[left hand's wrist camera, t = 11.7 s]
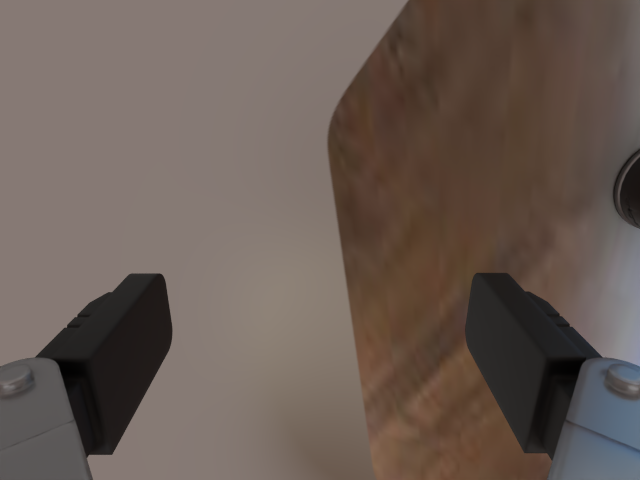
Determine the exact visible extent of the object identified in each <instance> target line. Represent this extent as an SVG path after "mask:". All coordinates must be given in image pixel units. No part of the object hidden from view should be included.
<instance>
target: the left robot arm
mask: <svg viewBox="0 0 640 480" xmlns="http://www.w3.org/2000/svg"><path fill="white" fill-rule="evenodd" d="M614 199H615V205H616V208H617V211H618V213H619V214H620V216H621V217H622V218H623V219H624V220H625V221H626V222H628V223H629V224H631V225H633V226H635V227H637V228H639V229H640V150H639V151H638V152H637V153H636V154H635V155H634V156H633V157H632V158H631V159H630V160H629V161H628V162H627V163H626V165H625V166H624V168H623V169H622V171H621V173H620V175H619V177H618V179H617V182H616V186H615V192H614ZM465 332H466V341H467V346H468V349H469V351H470V353H471V355H472V356H473V358H474V360H475V362H476V364H477V366H478V368H479V369H480V371H481V373H482V375H483V377H484V379H485V381H486V382H487V384H488V386H489V388H490V390H491V392H492V394H493V395H494V397H495V399H496V401H497V403H498V405H499V407H500V408H501V410H502V412H503V414H504V416H505V418H506V420H507V421H508V423H509V425H510V427H511V429H512V431H513V433H514V434H515V436H516V438H517V440H518V442H519V444H520V446H521V447H522V449H523V451H524V453H548V455H549V457H550V458H551V460H552V465H551V468H550V471H549V475H548V478H547V480H640V366H637V365H635V364H632V363H629V362H626V361H622V360H618V359H613V358H603V357H602V356H601V355H600V354H599V353H598V352H597V351H596V350H595V349H594V348H593V347H592V346H591V345H590V344H589V343H588V342H587V341H586V340H585V339H584V338H583V337H582V336H581V335H580V334H579V333H578V332H577V331H576V330H575V329H574V328H573V327H570V324H569V323H568V322H567V321H566V320H565V319H564V318H563V317H562V316H559V313H558V312H557V311H556V310H555V309H554V308H553V307H552V306H551V305H550V304H549V303H548V302H547V301H545V300H543V299H541V298H540V297H538V296H536V295H534V294H532V293H531V292H525V291H524V290H523V289H522V288H521V287H520V286H519V285H518V284H517V283H516V281H515V280H514V279H513V278H512V277H511V276H510V275H509V274H507V273H476V274H475V275H474V277H473V280H472V286H471V292H470V299H469V306H468V313H467V320H466V329H465ZM171 341H172V322H171V315H170V309H169V302H168V295H167V289H166V282H165V279H164V277H163V275H162V274H129V275H128V276H127V277H126V278H125V279H124V280H123V281H122V282H121V284H120V285H119V286H118V287H117V288H116V289H115V290H114V291H113V292H108V293H106V294H104V295H103V296H101V297H99V298H97V299H95V300H94V301H92V302H90V303H89V304H88V305H87V306H86V307H85V308H84V309H83V310H82V311H81V312H80V313H79V314H78V316H77V317H75V318H74V319H73V320H72V321H71V322H70V323H69V324H68V325H67V328H64V329H63V330H62V331H61V332H60V333H59V334H58V335H57V336H56V337H55V338H54V339H53V340H52V341H51V342H50V343H49V344H48V345H47V346H46V347H45V348H44V349H43V350H42V351H41V352H40V353H39V354H38V355H37V356H36V357H35V358H27V359H22V360H18V361H14V362H11V363H8V364H5V365H3V366H0V480H93V478H92V475H91V471H90V468H89V465H88V461H87V457H88V455H112V454H113V452H114V450H115V448H116V447H117V445H118V443H119V441H120V439H121V437H122V436H123V434H124V432H125V430H126V428H127V426H128V424H129V423H130V421H131V419H132V417H133V415H134V414H135V412H136V410H137V408H138V406H139V404H140V402H141V401H142V399H143V397H144V395H145V393H146V391H147V390H148V388H149V386H150V384H151V382H152V380H153V379H154V377H155V375H156V373H157V371H158V369H159V368H160V366H161V364H162V362H163V360H164V358H165V357H166V355H167V353H168V351H169V349H170V345H171Z"/></svg>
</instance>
